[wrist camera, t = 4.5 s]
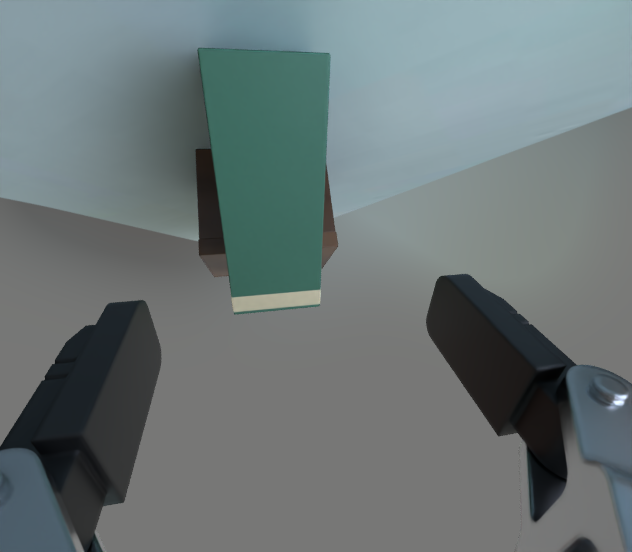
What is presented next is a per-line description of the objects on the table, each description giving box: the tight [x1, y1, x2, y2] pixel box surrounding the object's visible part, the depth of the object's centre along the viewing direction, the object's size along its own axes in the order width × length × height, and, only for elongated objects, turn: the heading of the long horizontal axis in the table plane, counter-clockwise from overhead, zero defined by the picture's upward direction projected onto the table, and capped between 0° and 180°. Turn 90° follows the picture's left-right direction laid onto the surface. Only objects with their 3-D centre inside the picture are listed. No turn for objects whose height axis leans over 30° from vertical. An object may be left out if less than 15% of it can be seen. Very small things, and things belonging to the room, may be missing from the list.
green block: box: [198, 48, 330, 314], centre depth 19 cm, size 13×6×13 cm, turn 172°
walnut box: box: [195, 149, 338, 277], centre depth 28 cm, size 7×10×8 cm
